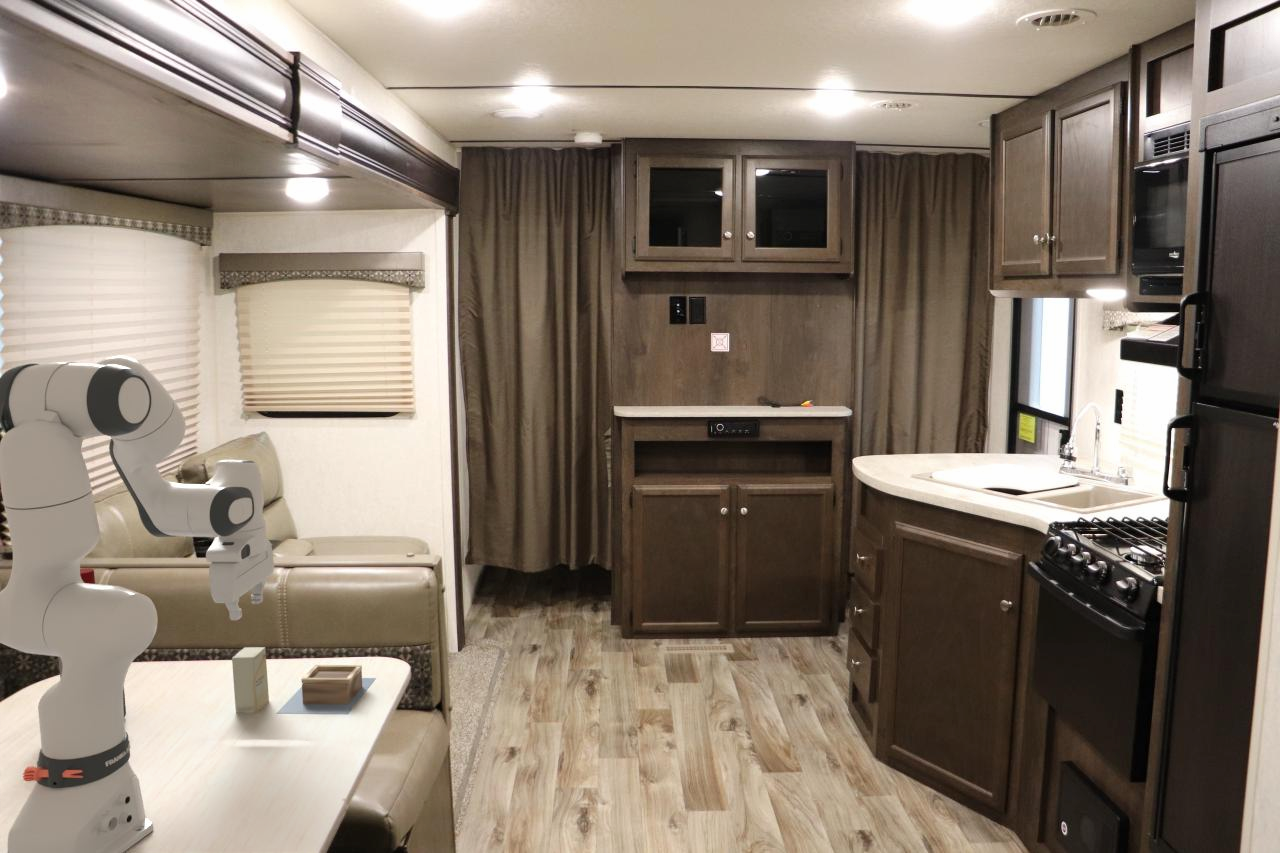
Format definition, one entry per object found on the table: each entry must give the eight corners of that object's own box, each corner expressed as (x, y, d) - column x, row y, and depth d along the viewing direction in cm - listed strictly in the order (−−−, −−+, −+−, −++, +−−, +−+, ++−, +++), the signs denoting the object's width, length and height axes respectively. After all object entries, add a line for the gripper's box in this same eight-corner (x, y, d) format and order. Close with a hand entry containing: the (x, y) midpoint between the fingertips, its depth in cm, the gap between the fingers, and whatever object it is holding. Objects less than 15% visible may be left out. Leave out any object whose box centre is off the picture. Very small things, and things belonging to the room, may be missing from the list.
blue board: (348, 718, 193) (347, 714, 193) (276, 718, 193) (276, 713, 193) (376, 682, 211) (376, 678, 210) (310, 681, 211) (310, 677, 211)
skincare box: (257, 718, 193) (253, 657, 192) (234, 718, 194) (230, 657, 192) (270, 704, 200) (266, 646, 198) (248, 704, 200) (244, 646, 198)
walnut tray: (349, 704, 197) (348, 681, 196) (301, 703, 198) (300, 680, 197) (363, 686, 206) (362, 664, 205) (317, 685, 206) (316, 663, 206)
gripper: (249, 528, 202) (253, 594, 204) (201, 555, 182) (206, 628, 184) (279, 528, 202) (284, 594, 204) (235, 555, 182) (240, 628, 184)
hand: (246, 610), depth 194 cm, fingers open, 8 cm apart
